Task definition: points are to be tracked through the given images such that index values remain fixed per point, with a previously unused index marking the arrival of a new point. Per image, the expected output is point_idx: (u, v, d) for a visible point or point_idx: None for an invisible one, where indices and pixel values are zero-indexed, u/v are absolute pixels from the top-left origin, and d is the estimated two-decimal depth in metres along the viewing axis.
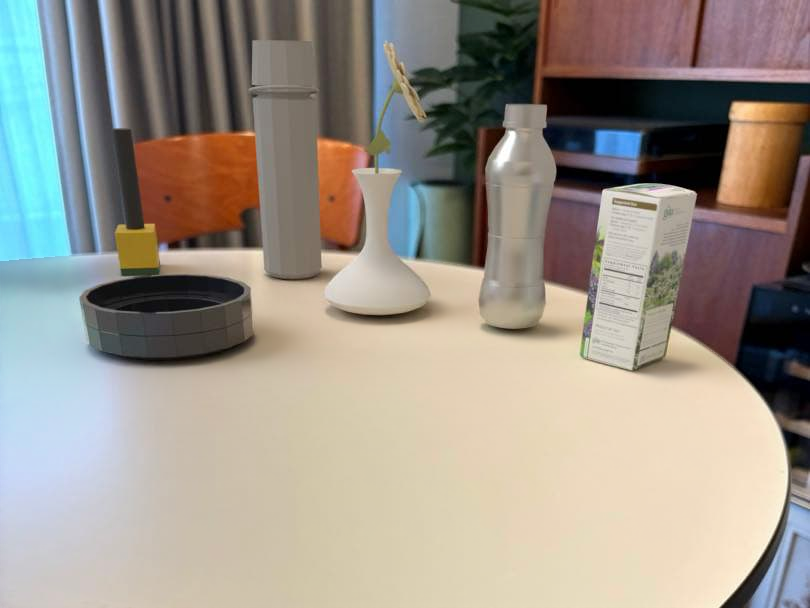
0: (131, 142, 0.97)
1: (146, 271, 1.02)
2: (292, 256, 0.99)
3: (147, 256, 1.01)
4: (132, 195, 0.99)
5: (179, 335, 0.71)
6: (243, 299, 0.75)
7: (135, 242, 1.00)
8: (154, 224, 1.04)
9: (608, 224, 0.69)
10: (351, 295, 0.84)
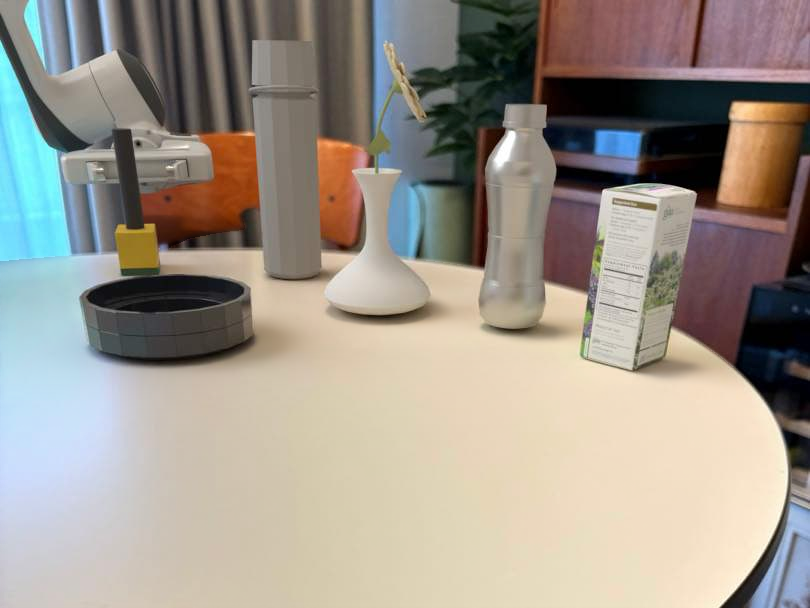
0: (131, 142, 0.97)
1: (146, 271, 1.02)
2: (292, 256, 0.99)
3: (147, 256, 1.01)
4: (132, 195, 0.99)
5: (179, 335, 0.71)
6: (243, 299, 0.75)
7: (135, 242, 1.00)
8: (154, 224, 1.04)
9: (608, 224, 0.69)
10: (351, 295, 0.84)
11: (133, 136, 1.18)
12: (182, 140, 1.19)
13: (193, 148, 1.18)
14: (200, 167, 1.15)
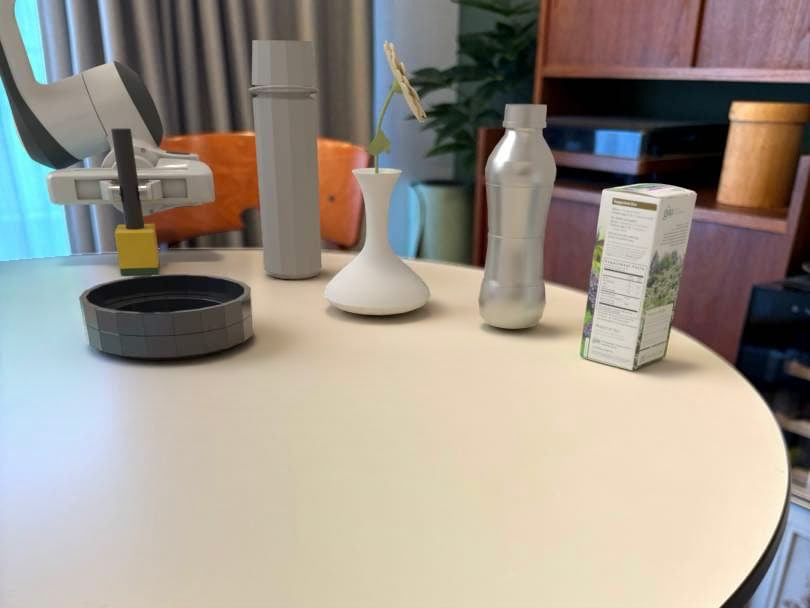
0: (131, 142, 0.97)
1: (146, 271, 1.02)
2: (292, 256, 0.99)
3: (147, 255, 1.01)
4: (132, 195, 0.99)
5: (179, 335, 0.71)
6: (243, 299, 0.75)
7: (134, 242, 1.00)
8: (154, 224, 1.04)
9: (608, 224, 0.69)
10: (351, 295, 0.84)
11: None
12: (180, 159, 1.09)
13: (192, 167, 1.08)
14: (200, 187, 1.05)
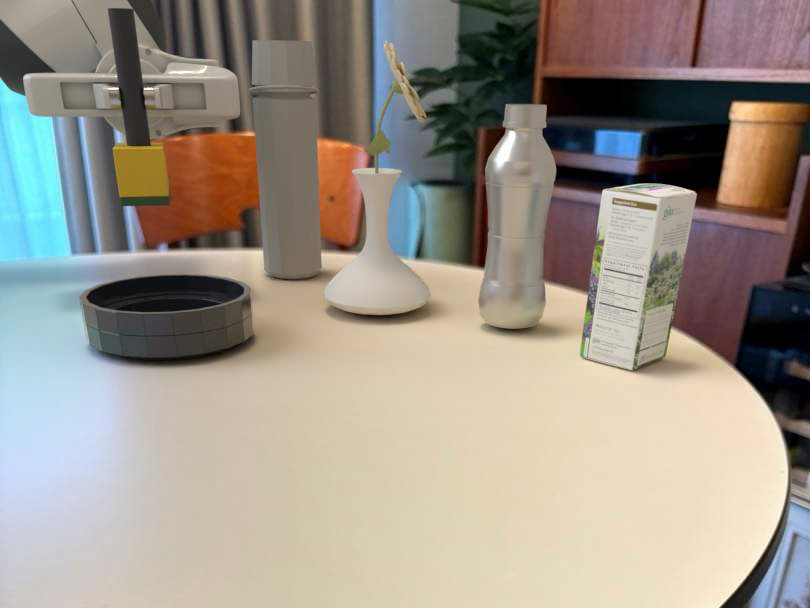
0: (133, 27, 0.74)
1: (153, 201, 0.79)
2: (292, 256, 0.99)
3: (154, 180, 0.78)
4: (135, 99, 0.76)
5: (179, 335, 0.71)
6: (243, 299, 0.75)
7: (138, 161, 0.77)
8: (163, 143, 0.81)
9: (608, 224, 0.69)
10: (351, 295, 0.84)
11: None
12: (195, 64, 0.86)
13: (210, 73, 0.85)
14: (222, 96, 0.82)
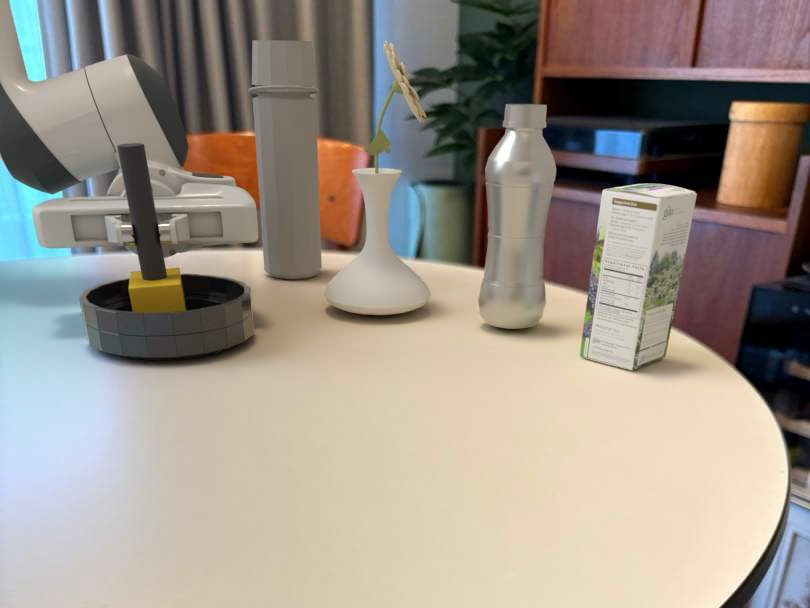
0: (145, 162, 0.70)
1: None
2: (292, 256, 0.99)
3: None
4: (149, 234, 0.72)
5: (179, 335, 0.71)
6: (243, 299, 0.75)
7: (156, 298, 0.73)
8: (178, 269, 0.78)
9: (608, 224, 0.69)
10: (351, 295, 0.84)
11: None
12: (211, 184, 0.82)
13: (227, 195, 0.81)
14: (240, 223, 0.78)
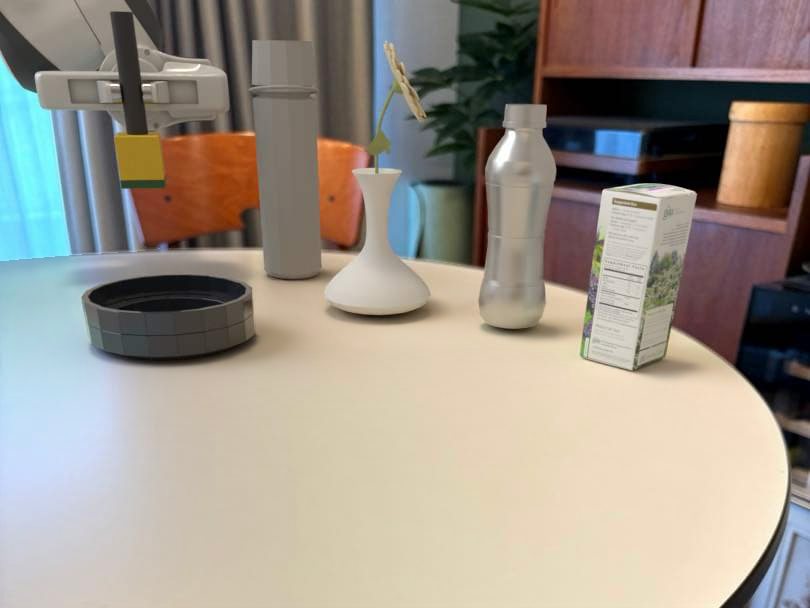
0: (133, 28, 0.83)
1: (150, 184, 0.88)
2: (292, 256, 0.99)
3: (151, 165, 0.87)
4: (134, 92, 0.85)
5: (181, 334, 0.71)
6: (245, 299, 0.75)
7: (137, 148, 0.86)
8: (159, 132, 0.91)
9: (608, 224, 0.69)
10: (351, 295, 0.84)
11: None
12: (189, 63, 0.95)
13: (203, 72, 0.94)
14: (213, 92, 0.91)
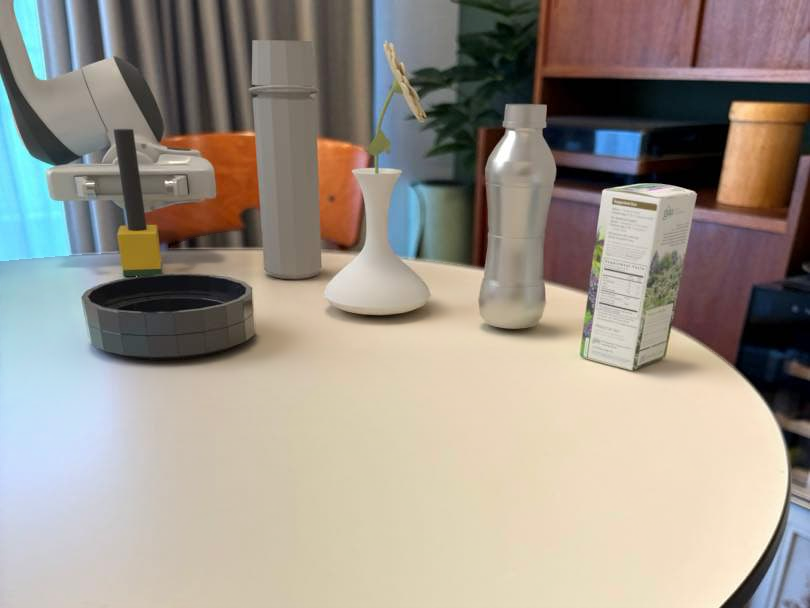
0: (133, 143, 0.96)
1: (148, 272, 1.01)
2: (292, 256, 0.99)
3: (149, 257, 1.00)
4: (134, 196, 0.98)
5: (181, 334, 0.71)
6: (245, 299, 0.75)
7: (137, 243, 0.99)
8: (156, 225, 1.04)
9: (608, 224, 0.69)
10: (351, 295, 0.84)
11: None
12: (181, 155, 1.08)
13: (193, 163, 1.07)
14: (202, 183, 1.04)
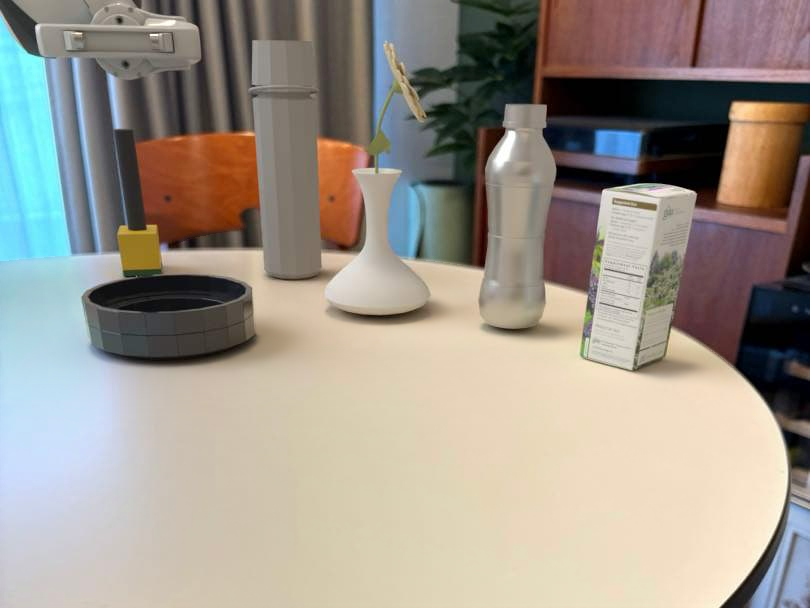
0: (133, 143, 0.96)
1: (148, 272, 1.01)
2: (292, 256, 0.99)
3: (149, 257, 1.00)
4: (134, 196, 0.98)
5: (181, 334, 0.71)
6: (245, 299, 0.75)
7: (137, 243, 0.99)
8: (156, 225, 1.04)
9: (608, 224, 0.69)
10: (351, 295, 0.84)
11: (114, 13, 1.10)
12: (167, 19, 1.11)
13: None
14: (187, 42, 1.07)
